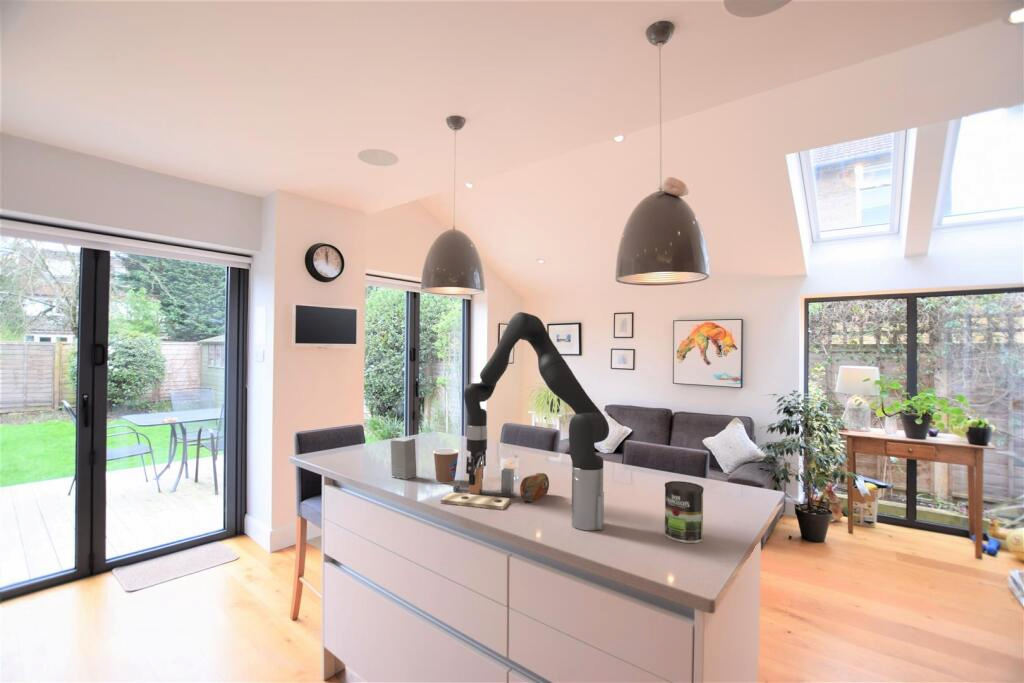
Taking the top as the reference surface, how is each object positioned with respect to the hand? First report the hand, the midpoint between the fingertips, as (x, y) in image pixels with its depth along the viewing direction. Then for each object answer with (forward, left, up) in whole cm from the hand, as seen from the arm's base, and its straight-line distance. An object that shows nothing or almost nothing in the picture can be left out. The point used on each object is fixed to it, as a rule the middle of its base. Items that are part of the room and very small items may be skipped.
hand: (476, 482), depth 169 cm
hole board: (-4, +11, -4) cm, 12 cm away
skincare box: (+36, -11, -4) cm, 38 cm away
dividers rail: (-4, 0, -4) cm, 6 cm away
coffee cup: (+17, -11, -4) cm, 21 cm away
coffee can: (-70, +21, -4) cm, 73 cm away
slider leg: (0, 0, -4) cm, 4 cm away
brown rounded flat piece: (-22, 0, -4) cm, 22 cm away
